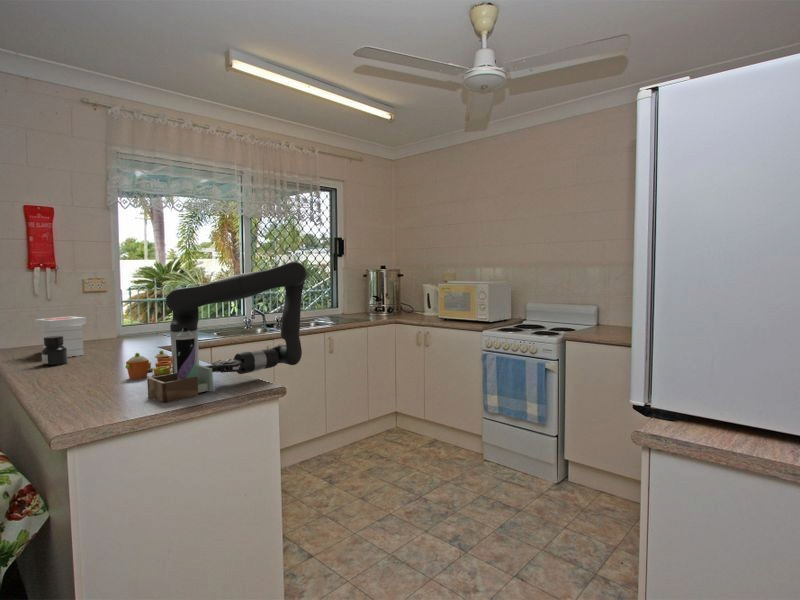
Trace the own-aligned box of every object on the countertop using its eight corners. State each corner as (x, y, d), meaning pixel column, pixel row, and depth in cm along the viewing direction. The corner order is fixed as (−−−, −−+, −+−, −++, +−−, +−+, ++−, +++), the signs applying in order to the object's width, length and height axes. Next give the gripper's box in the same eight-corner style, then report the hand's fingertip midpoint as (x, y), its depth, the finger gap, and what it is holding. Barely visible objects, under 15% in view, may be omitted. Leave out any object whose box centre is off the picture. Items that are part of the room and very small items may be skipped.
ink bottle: (45, 363, 204) (44, 336, 203) (70, 361, 207) (68, 334, 207) (39, 367, 195) (37, 339, 194) (64, 365, 199) (63, 337, 198)
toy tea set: (172, 378, 172) (170, 352, 172) (124, 382, 166) (122, 356, 166) (177, 365, 196) (176, 342, 196) (135, 368, 191) (134, 345, 190)
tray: (164, 391, 150) (163, 369, 149) (196, 385, 157) (195, 364, 157) (180, 397, 142) (179, 374, 141) (213, 390, 150) (212, 368, 149)
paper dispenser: (82, 348, 244) (80, 314, 243) (89, 355, 221) (86, 318, 220) (36, 352, 232) (34, 316, 231) (38, 361, 209) (35, 321, 208)
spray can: (176, 391, 146) (173, 328, 145) (179, 387, 151) (177, 326, 150) (195, 390, 147) (192, 328, 146) (197, 386, 153) (195, 326, 151)
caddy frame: (148, 396, 146) (147, 378, 145) (181, 389, 154) (180, 372, 153) (163, 403, 138) (162, 383, 138) (198, 395, 146) (197, 376, 146)
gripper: (240, 349, 170) (193, 356, 157) (260, 353, 162) (213, 361, 149) (240, 369, 171) (194, 378, 158) (261, 374, 162) (214, 384, 149)
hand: (203, 370), depth 153 cm, fingers closed
